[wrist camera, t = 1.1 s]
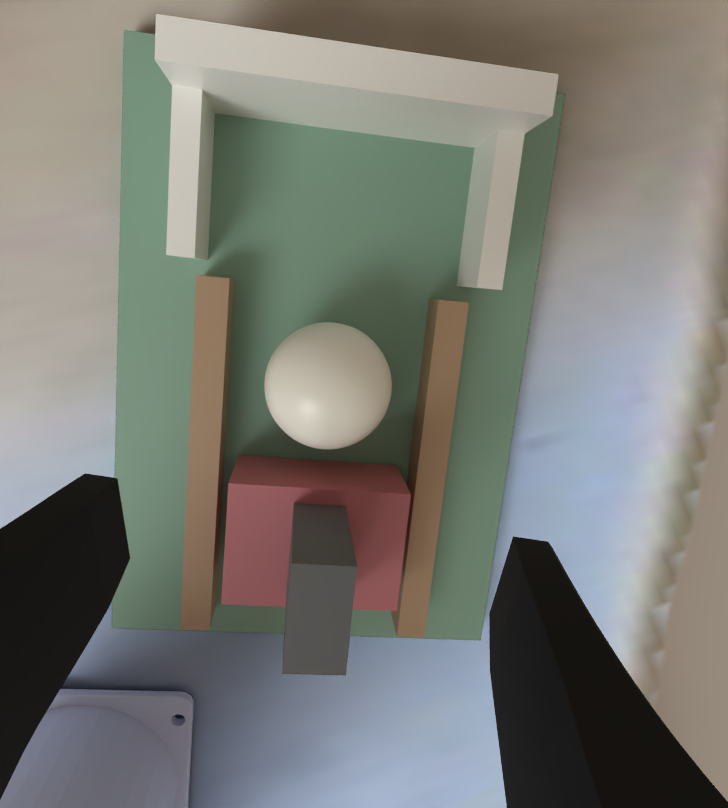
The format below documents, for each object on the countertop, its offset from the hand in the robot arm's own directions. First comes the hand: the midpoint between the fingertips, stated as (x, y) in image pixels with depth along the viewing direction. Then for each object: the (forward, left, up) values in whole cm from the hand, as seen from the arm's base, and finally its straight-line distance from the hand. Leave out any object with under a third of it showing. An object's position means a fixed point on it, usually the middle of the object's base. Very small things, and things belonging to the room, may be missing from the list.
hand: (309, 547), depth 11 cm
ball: (+2, -1, -8) cm, 9 cm away
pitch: (+2, -1, -11) cm, 11 cm away
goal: (+8, -1, -11) cm, 14 cm away
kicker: (-3, -1, -11) cm, 12 cm away
